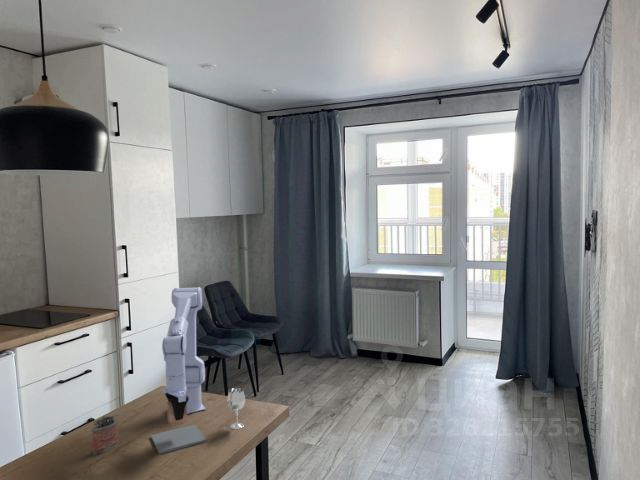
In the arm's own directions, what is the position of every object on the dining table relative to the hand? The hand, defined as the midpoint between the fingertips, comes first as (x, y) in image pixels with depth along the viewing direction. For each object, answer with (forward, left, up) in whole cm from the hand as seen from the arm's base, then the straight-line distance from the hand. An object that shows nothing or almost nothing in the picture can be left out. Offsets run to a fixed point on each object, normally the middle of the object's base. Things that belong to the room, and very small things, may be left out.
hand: (177, 416), depth 151 cm
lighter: (-6, -20, -8) cm, 22 cm away
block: (0, 0, -2) cm, 2 cm away
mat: (0, 0, -7) cm, 7 cm away
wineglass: (+1, +19, -8) cm, 20 cm away
